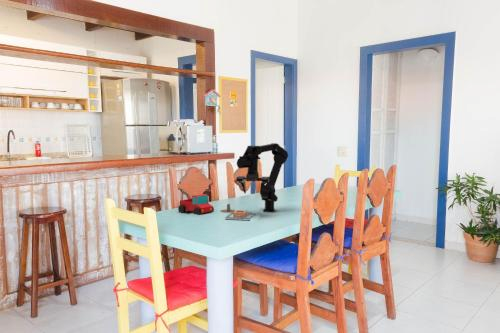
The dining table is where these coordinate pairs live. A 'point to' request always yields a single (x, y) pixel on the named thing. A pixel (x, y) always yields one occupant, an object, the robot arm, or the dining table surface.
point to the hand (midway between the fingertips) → (252, 193)
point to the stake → (227, 209)
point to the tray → (238, 218)
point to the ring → (240, 213)
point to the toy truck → (196, 204)
